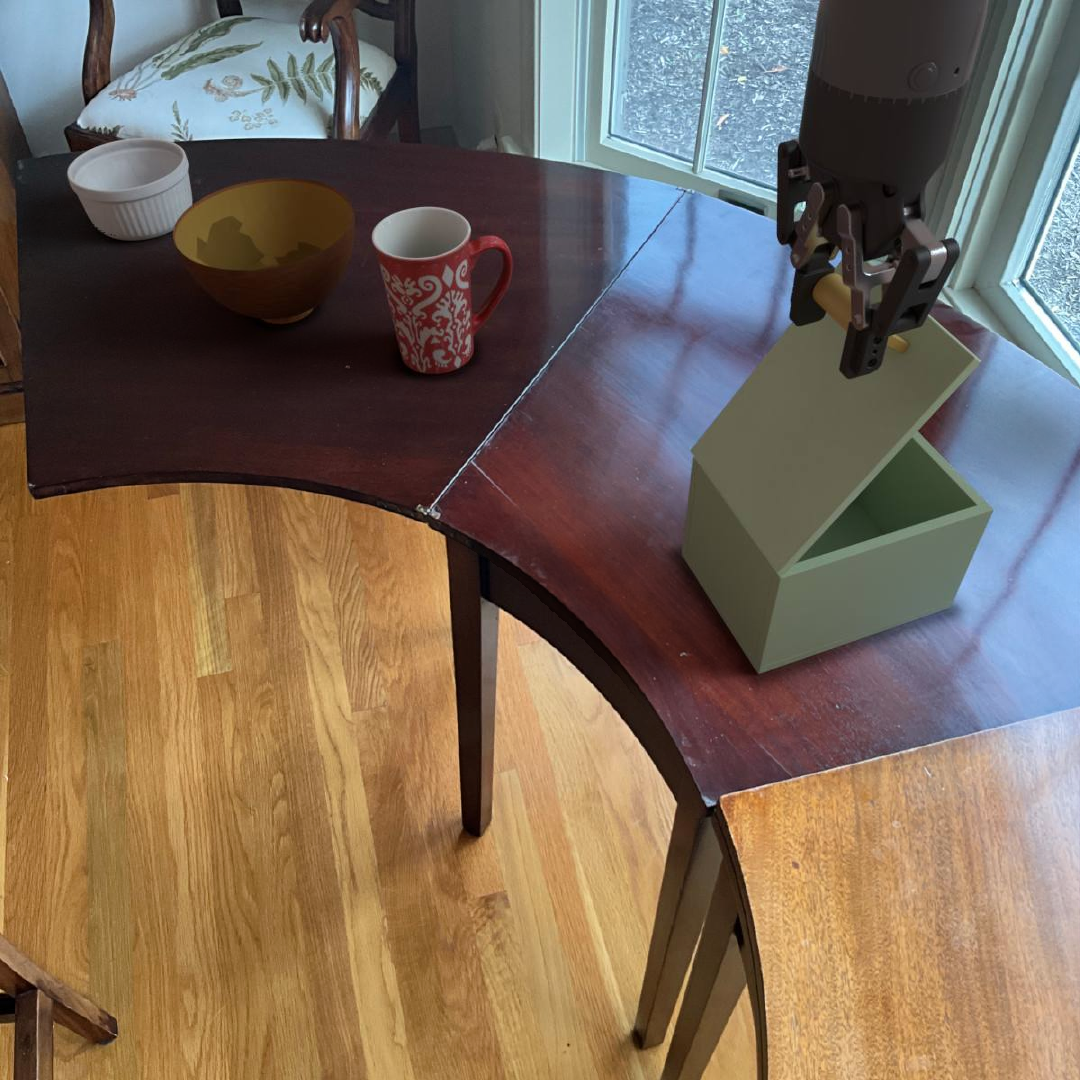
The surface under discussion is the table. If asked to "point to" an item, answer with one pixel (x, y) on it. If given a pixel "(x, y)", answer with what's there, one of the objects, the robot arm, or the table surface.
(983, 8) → the robot arm
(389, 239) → the mug
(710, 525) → the chest
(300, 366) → the table surface
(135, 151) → the ramekin
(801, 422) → the lid
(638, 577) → the table surface
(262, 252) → the bowl
